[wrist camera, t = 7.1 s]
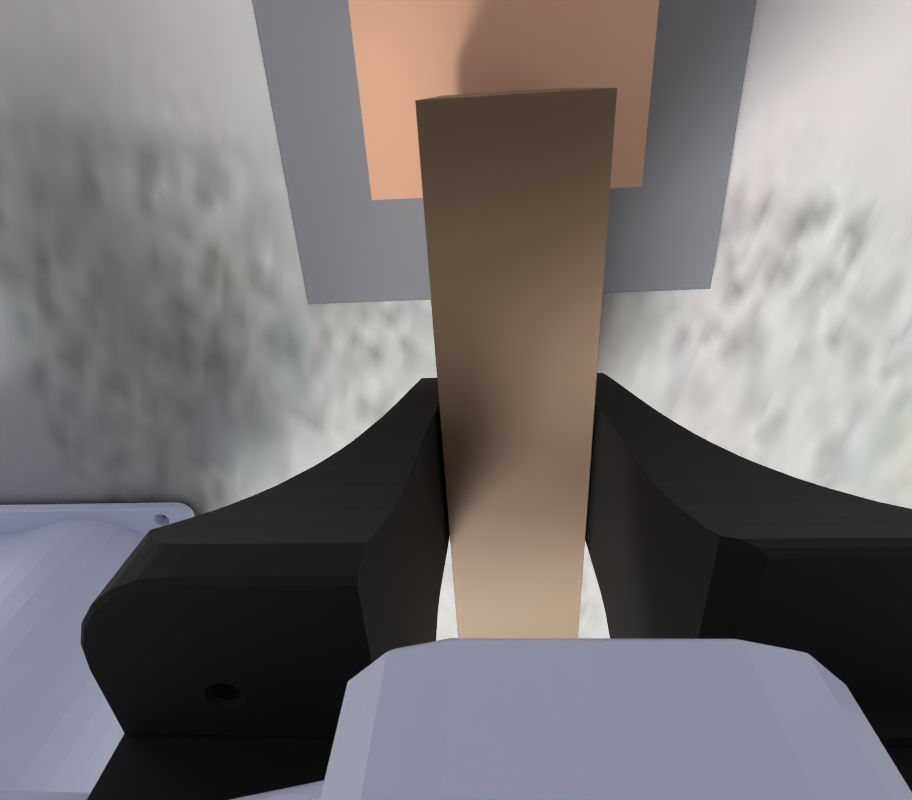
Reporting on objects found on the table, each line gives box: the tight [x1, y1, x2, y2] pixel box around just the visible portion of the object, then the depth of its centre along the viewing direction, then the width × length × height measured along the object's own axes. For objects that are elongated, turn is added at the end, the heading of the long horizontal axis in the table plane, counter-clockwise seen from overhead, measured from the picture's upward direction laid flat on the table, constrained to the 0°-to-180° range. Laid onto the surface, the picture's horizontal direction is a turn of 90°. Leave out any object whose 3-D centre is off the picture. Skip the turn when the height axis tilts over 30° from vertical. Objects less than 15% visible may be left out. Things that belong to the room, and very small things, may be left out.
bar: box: [415, 88, 617, 639], centre depth 12 cm, size 12×2×5 cm, turn 3°
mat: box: [252, 0, 756, 304], centre depth 13 cm, size 11×12×1 cm
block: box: [348, 0, 659, 200], centre depth 12 cm, size 6×2×7 cm
